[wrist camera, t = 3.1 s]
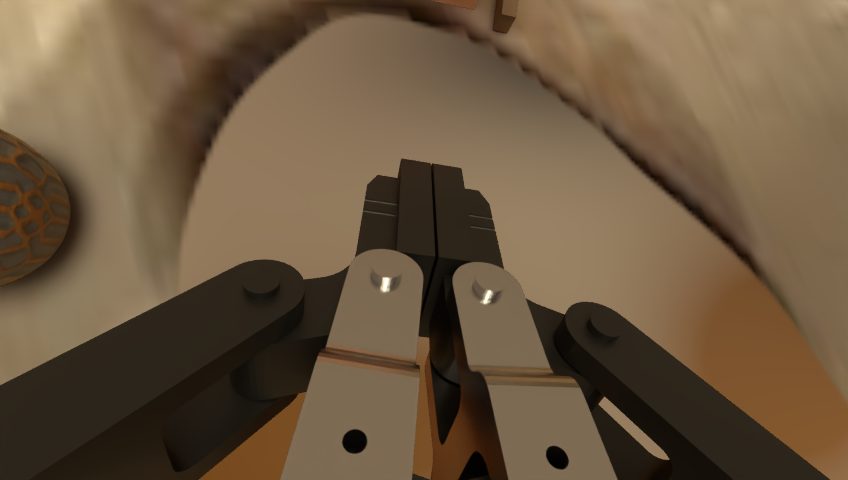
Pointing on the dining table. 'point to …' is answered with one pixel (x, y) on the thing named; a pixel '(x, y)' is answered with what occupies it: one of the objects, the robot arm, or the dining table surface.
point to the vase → (28, 209)
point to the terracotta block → (460, 3)
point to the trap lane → (505, 15)
